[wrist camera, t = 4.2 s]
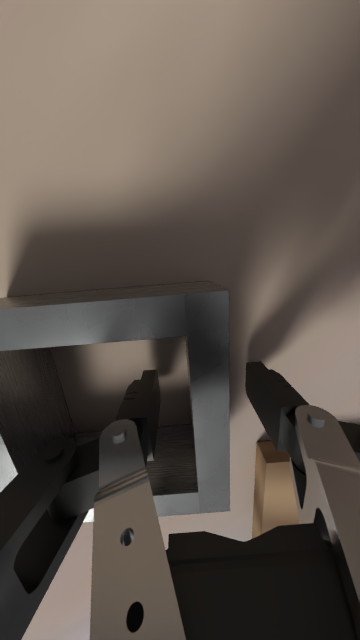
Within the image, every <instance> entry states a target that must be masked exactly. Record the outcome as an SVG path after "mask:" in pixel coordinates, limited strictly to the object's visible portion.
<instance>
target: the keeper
mask: <svg viewBox="0 0 360 640" xmlns="http://www.w3.org/2000/svg"><path fill="white" fill-rule="evenodd" d="M289 461H290V456H289V454H288V452H287V451H281V452H277V450H276V448H275V447H274V445H273V443H272V441H263V442H257V448H256V469H255V490H254V511H253V531H252V539H253V538H255V537H257V536H259V535H261V534H263V533H265V532H267V531H269V530H271V529H273V528H275V527H277V526H281V525H294V524H299V516H298V510H297V504H296V499H295V493H294V488H293V482H292V477H291V471H290V466H289Z"/></svg>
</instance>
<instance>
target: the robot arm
mask: <svg viewBox="0 0 360 640" xmlns="http://www.w3.org/2000/svg"><path fill="white" fill-rule="evenodd" d="M245 387H246V393H247V396H248V398H249V400H250V402H251V404H252V406H253V408H254V409H255V411H256V413H257V415H258V417H259V419H260V421H261V422H262V424H263V426H264V428H265V430H266V432H267V434H268V435H269V437H270V439H271V441H272V443H273V445H274V447H275V448H276V450H277V452H281V451H287V452H288V454H289V456H290V461H289V466H290V471H291V477H292V482H293V488H294V493H295V499H296V504H297V510H298V516H299V524H294V525H281V526H277V527H275V528H273V529H271V530H269V531H267V532H265V533H263V534H261V535H259V536H257V537H255V538H253V539H251V540H249V541H246V542H242V541H238V540H234V539H230V538H227V537H223V536H220V535H216V534H212V533H209V532H205V531H202V532H189V533H176V534H169V543H168V549H167V550H165V546H164V542H163V538H162V533H161V529H160V525H159V520H158V516H157V512H156V507H155V503H154V499H153V494H152V490H151V486H150V481H149V477H148V473H147V471H146V465H147V461H154V454H155V446H156V437H157V428H158V419H159V411H160V388H159V380H158V373H157V370H144V371H143V374H142V377H141V380H134V381H133V382H132V383H131V384H130V385H129V386H128V389H127V392H126V394H125V397H124V400H123V402H122V404H121V407H120V409H119V412H118V415H117V417H116V420H115V422H113V423H111V424H110V425H108V426H107V427H106V428H105V429H104V430H103V432H102V433H101V435H100V438H98V439H96V440H93V441H91V442H88V443H85V444H82V445H79V446H77V445H76V442H75V441H74V440H73V439H71V438H62V439H58V440H56V441H54V442H52V443H50V444H48V445H47V446H45V447H44V448H43V449H42V450H40V451H39V452H38V453H37V454H36V456H35V457H34V458H33V459H32V460H31V461H30V462H29V463H28V464H27V465H26V466H25V467H24V468H23V469H22V470H21V471H20V472H19V473H18V474H17V476H16V477H15V478H14V479H13V480H12V481H11V482H10V483H9V484H8V485H7V486H6V487H5V488H4V489H3V490H2V491H1V492H0V640H21V639H22V637H23V635H24V633H25V631H26V629H27V628H28V626H29V624H30V622H31V620H32V618H33V616H34V614H35V612H36V610H37V609H38V607H39V605H40V603H41V601H42V599H43V597H44V595H45V593H46V591H47V590H48V588H49V586H50V584H51V582H52V580H53V578H54V576H55V574H56V572H57V571H58V569H59V567H60V565H61V563H62V561H63V559H64V557H65V555H66V553H67V552H68V550H69V548H70V546H71V544H72V542H73V540H74V538H75V536H76V534H77V533H78V531H79V529H80V527H81V525H82V523H83V521H84V519H85V517H86V515H87V514H88V512H89V510H90V509H93V508H94V519H93V552H92V585H91V618H90V640H360V425H359V424H352V423H346V422H340V421H337V419H336V418H335V417H334V416H333V415H332V414H330V413H329V412H327V411H326V410H324V409H322V408H319V407H316V406H312V405H309V404H308V403H307V402H306V401H305V400H304V399H303V397H302V396H301V395H300V394H299V393H298V392H297V391H296V390H295V389H294V388H293V387H291V385H290V384H289V383H288V382H287V381H286V380H285V379H284V377H283V376H282V375H281V374H279V373H277V372H275V371H274V370H272V369H271V370H268V369H267V368H266V367H265V365H264V364H263V363H262V362H260V361H259V362H247V363H246V383H245Z"/></svg>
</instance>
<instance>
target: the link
mask: <svg viewBox="0 0 360 640" xmlns="http://www.w3.org/2000/svg"><path fill="white" fill-rule="evenodd" d="M182 336H185V341H186V354H187V367H188V381H189V394H190V407H191V420H192V424H189V425H176V426H163V427H158V428H157V437H156V446H155V454H154V461H147V465H146V471H147V473H148V477H149V481H150V486H151V490H152V494H153V499H154V503H155V507H156V512H157V516H158V517H159V516H172V515H186V514H199V513H212V512H225V511H230V430H229V291H228V290H226V289H224V288H222V287H220V286H218V285H216V284H214V283H212V282H210V281H200V282H188V283H175V284H163V285H151V286H138V287H126V288H114V289H102V290H89V291H77V292H65V293H52V294H40V295H28V296H15V297H5V298H0V492H1V491H2V490H3V489H4V488H5V487H6V486H7V485H8V484H9V483H10V482H11V481H12V480H13V479H14V478H15V477H16V476H17V474H18V473H19V472H20V471H21V470H22V469H23V468H24V467H25V466H26V465H27V464H28V463H29V462H30V461H31V460H32V459H33V458H34V457H35V456H36V454H37V453H38V452H39V451H40V450H42V449H43V448H44V447H45V446H47V445H48V444H50V443H52V442H54V441H56V440H58V439H62V438H71V439H73V440H74V441H75V442H76V445H77V446H79V445H82V444H85V443H88V442H91V441H93V440H96V439H98V438H100V435H101V433H102V432H103V431H99V432H87V433H75V432H74V429H73V426H72V422H71V419H70V416H69V412H68V409H67V406H66V402H65V399H64V396H63V392H62V389H61V386H60V382H59V379H58V376H57V372H56V369H55V366H54V362H53V359H52V356H51V352H50V349H49V347H57V346H70V345H82V344H95V343H107V342H120V341H132V340H145V339H157V338H170V337H182ZM93 519H94V508H93V509H90V510H89V512H88V514H87V515H86V517H85V519H84V521H83V522H93Z"/></svg>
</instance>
